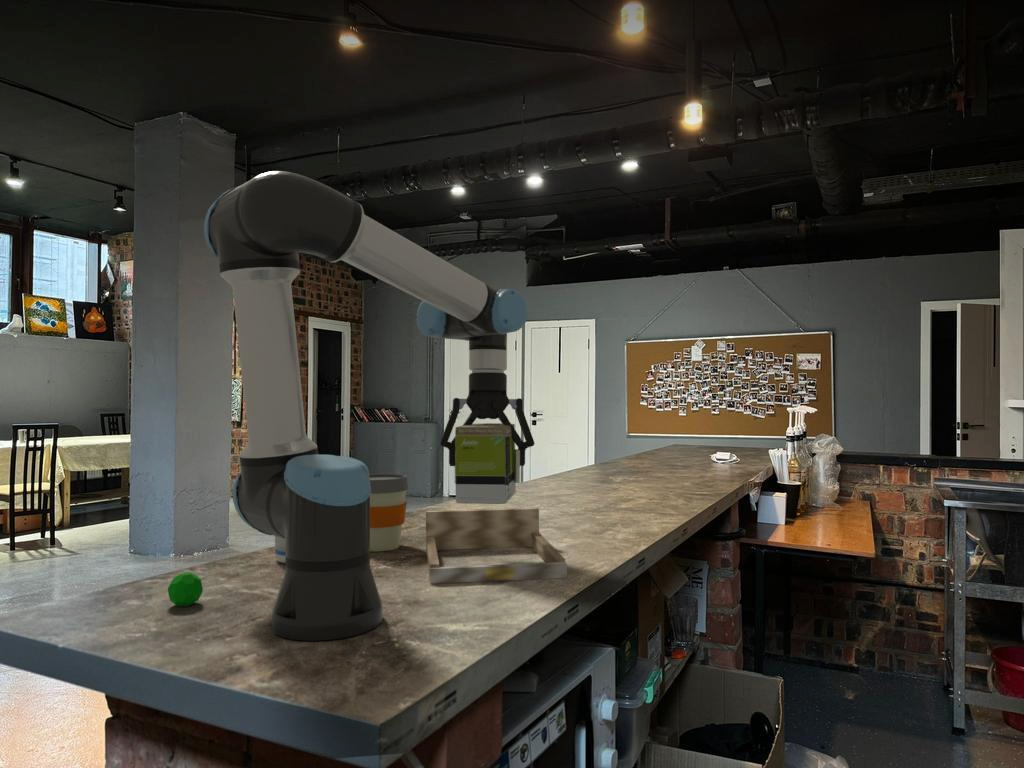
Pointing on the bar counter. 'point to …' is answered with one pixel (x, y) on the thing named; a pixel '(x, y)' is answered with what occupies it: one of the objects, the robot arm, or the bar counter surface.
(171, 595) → the polyhedron
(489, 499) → the tea box
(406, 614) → the bar counter surface
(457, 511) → the open wooden storage bin
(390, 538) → the reusable coffee cup
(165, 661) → the bar counter surface
